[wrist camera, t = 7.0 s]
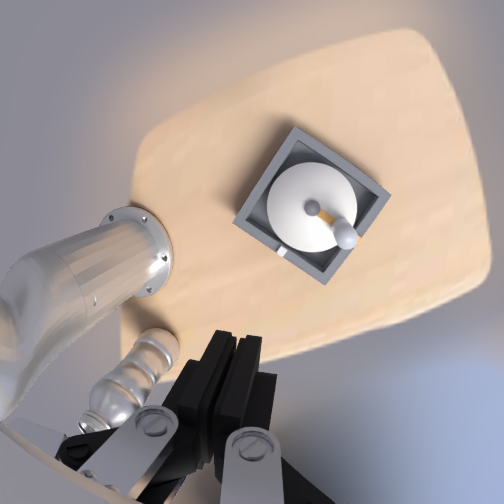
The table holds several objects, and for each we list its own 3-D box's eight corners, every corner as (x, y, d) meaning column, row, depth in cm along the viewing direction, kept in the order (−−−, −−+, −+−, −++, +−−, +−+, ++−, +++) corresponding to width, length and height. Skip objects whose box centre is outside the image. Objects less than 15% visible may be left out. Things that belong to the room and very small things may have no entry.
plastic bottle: (140, 322, 40) (56, 404, 22) (177, 322, 39) (97, 418, 20) (153, 357, 42) (84, 443, 23) (190, 358, 40) (126, 458, 21)
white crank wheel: (253, 217, 32) (239, 230, 25) (298, 146, 28) (295, 139, 22) (323, 263, 31) (326, 286, 25) (370, 194, 28) (386, 201, 22)
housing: (323, 275, 33) (325, 287, 30) (238, 218, 33) (230, 223, 30) (384, 192, 29) (392, 195, 26) (295, 130, 29) (294, 125, 26)
